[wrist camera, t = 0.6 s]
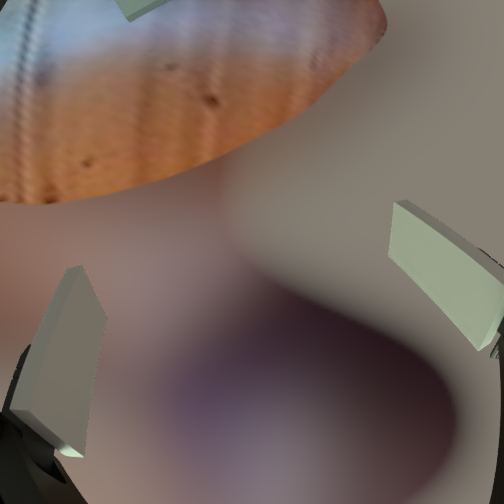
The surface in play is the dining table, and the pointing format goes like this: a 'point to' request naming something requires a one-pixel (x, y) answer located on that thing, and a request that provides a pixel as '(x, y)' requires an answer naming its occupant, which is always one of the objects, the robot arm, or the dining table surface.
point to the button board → (137, 7)
